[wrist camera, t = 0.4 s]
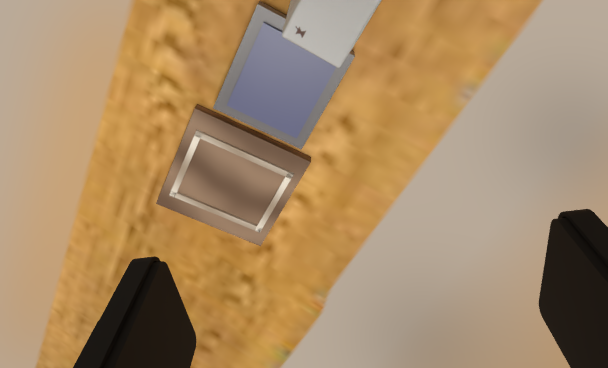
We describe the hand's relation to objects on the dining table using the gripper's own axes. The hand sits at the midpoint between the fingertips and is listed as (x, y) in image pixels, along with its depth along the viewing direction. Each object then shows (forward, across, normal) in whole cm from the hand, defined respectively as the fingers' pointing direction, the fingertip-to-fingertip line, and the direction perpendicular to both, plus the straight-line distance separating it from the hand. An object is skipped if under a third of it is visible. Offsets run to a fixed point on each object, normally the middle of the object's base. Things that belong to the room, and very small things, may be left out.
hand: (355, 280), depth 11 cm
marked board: (+31, +12, +14) cm, 36 cm away
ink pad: (+31, +5, +4) cm, 32 cm away
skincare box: (+31, -1, -3) cm, 31 cm away
